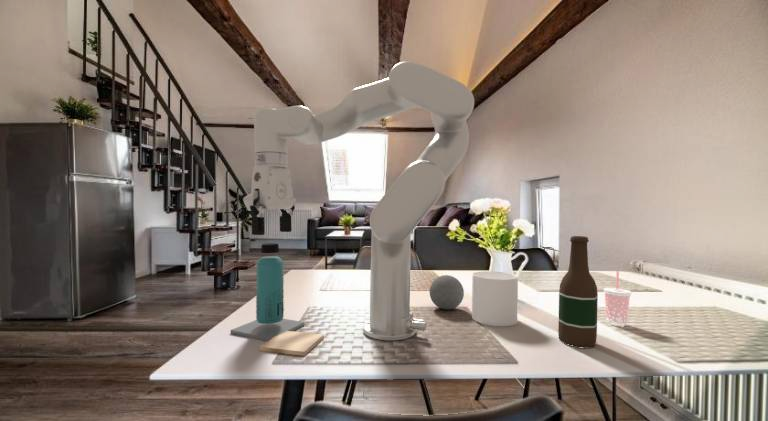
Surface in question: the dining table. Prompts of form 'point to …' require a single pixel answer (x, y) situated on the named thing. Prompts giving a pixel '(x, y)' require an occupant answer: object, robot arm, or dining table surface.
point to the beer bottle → (578, 299)
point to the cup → (494, 298)
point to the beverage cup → (617, 304)
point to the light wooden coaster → (292, 343)
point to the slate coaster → (266, 329)
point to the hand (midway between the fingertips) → (272, 233)
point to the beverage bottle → (269, 286)
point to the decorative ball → (446, 292)
